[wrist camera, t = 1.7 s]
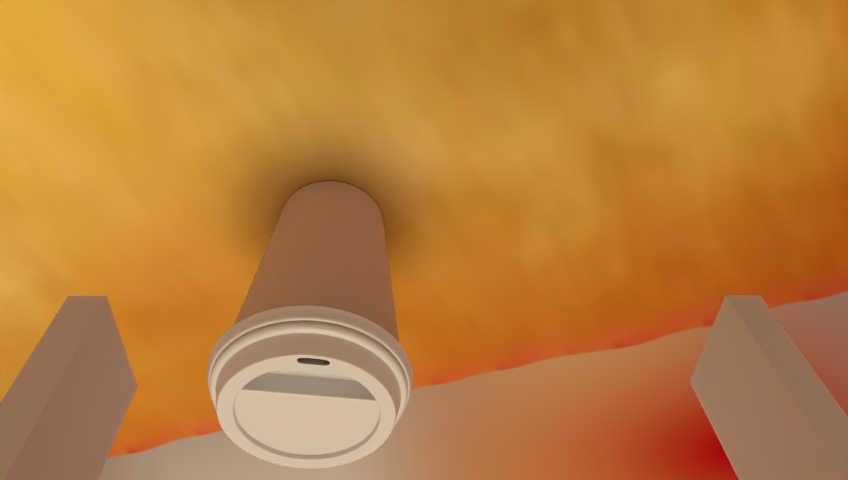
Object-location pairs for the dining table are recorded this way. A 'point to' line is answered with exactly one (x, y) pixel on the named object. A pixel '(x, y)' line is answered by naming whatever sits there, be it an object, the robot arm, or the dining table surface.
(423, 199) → the dining table surface
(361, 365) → the coffee cup
